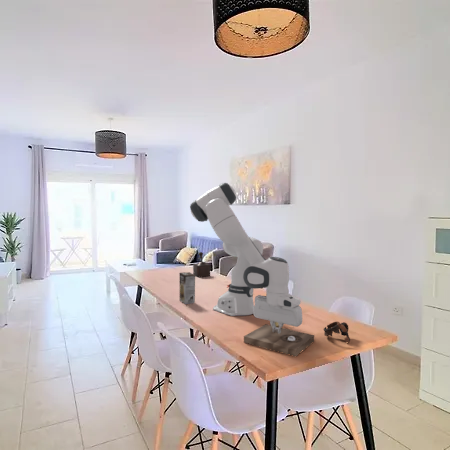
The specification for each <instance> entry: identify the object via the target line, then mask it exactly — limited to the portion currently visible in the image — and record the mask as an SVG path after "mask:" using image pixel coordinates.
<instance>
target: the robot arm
mask: <svg viewBox="0 0 450 450" xmlns="http://www.w3.org/2000/svg"><path fill="white" fill-rule="evenodd" d="M236 200H237V194H236V191H235V189H234V187H233V186H232V185H230V184H229V183H228V182H222V183H220V184H218V185H217V186H215V187H213V188H211V189H209V190H208V191H206V192H205V193H203V194H202V195H200V196H199V197H198V198H197V199H195V200H193V201H192V202H191V203H190V205H189V210H190V214H191V215H192V217H193V218H194V219H195V220H196V221H198V222H200V223H201V222H202V223H203V222H209V224H210V225H211V228H212V229H213V232H215V235H216V236H217V237H218V238H219V239H220V240H221V242H223V243H222V249H223V252H225V254H227V255H229V256H231V257H237V259H236V264H235V265H234V266H233V267H232V268H231V271H230V273H231V274H230V281H231V283H230V284H228V285H226V288H228V289H227V291H225V292H224V293H223V294H221V295H220V296H219V298H218V299H217V303H216V305H214V306H213V307H212V311H215V312H218V313H221V314H225V315H228V316H231V317H234V316H235V317H236V316H250V315H252V314H253V316H254V317H255V318H257V319H261V320H265V321H269V325H271V326H272V328H273V332H275V333H279V334H280V333H281V328H283V327H284V325H287V326H292V327H295V328H296V327H297V328H298V327H300V326H301V325H302V324H303V311H302V308H301V306H300V305H301V298H298V297H296V296H294V295H292V294H291V293H290V290H289V282H290V268H289V263H288V261H287V260H286V259H284V258H281V257H277V256H270V257H267V259H266V258H265V257H264V256H263V252H264V244H263V242H262V241H261V240H259V239H257V238H255V237H251V236H248V235H249V234H248V233H247V232H246V230H245V229H244V227H243V226H242V224H241V222H240V221H239V219H238V218H237V215H236V214H235V212H234V211H233V210H232V208H231V207H230V205H231V206H232V205H233V204H234V203H235V202H236ZM264 288H265V289H266V291H265V292H266V295H261V294H257V295H256V296H255V297H254V289H255V290H256V289H264ZM275 322H278V325H279V328H277V327H276V326H275Z"/></svg>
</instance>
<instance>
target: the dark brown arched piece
mask: <svg viewBox="0 0 450 450" xmlns="http://www.w3.org/2000/svg"><path fill="white" fill-rule="evenodd" d="M323 331H324V336H326V337H327V336H328V337H333V333H335V334H338V335H339V334H340V335H341V336H344V337H345V338H344V341H345V343H346V342H349V341H350V342H351V339H350V335H349V332H348V331H349V325H348V323H347V322H346V321H345V322H340V321H333V322H332V323H329V324H327V325H326V326H325V327H323ZM350 342H349V343H350Z"/></svg>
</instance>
